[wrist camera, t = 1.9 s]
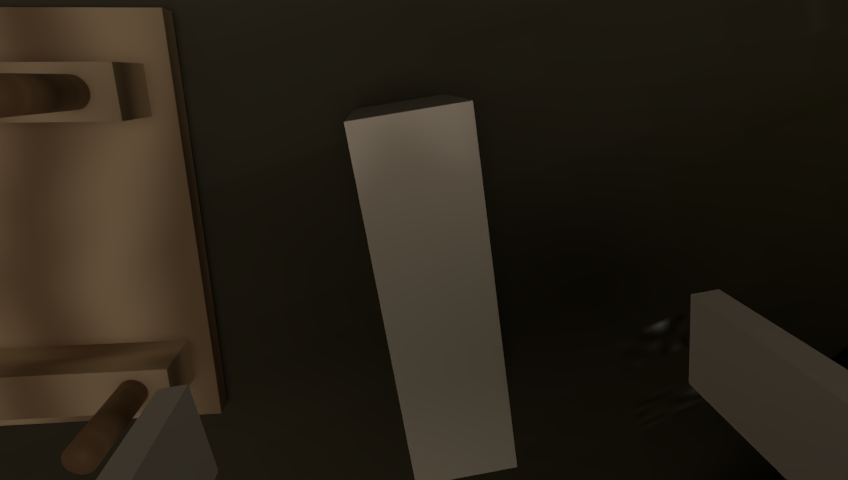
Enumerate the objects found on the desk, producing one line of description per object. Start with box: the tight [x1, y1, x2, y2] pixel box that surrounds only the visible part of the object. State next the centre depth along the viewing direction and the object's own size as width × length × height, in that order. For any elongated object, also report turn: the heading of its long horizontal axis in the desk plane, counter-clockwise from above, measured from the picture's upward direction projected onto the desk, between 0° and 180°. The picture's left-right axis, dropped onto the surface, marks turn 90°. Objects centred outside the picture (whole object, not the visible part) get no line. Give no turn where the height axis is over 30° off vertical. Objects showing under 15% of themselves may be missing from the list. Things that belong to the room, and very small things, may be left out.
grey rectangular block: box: [344, 94, 517, 480], centre depth 21 cm, size 4×14×7 cm, turn 9°
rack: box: [0, 7, 227, 475], centre depth 19 cm, size 12×18×8 cm, turn 0°
